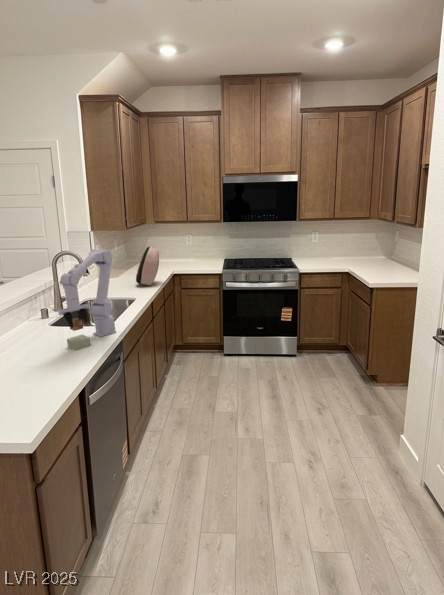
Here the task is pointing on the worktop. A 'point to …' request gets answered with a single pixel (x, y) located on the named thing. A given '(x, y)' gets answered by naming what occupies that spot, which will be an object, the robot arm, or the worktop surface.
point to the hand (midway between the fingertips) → (76, 325)
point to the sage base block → (78, 342)
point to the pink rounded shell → (148, 266)
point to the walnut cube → (77, 324)
